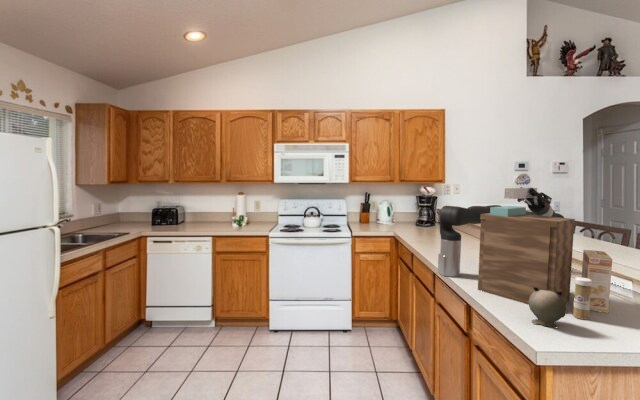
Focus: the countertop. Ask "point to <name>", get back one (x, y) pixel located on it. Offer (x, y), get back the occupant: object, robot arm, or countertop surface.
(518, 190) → the metal bar
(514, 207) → the teal base block
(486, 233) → the walnut shelf
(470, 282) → the countertop surface
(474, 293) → the countertop surface
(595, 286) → the coffeecake box
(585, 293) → the sprinkles bottle
